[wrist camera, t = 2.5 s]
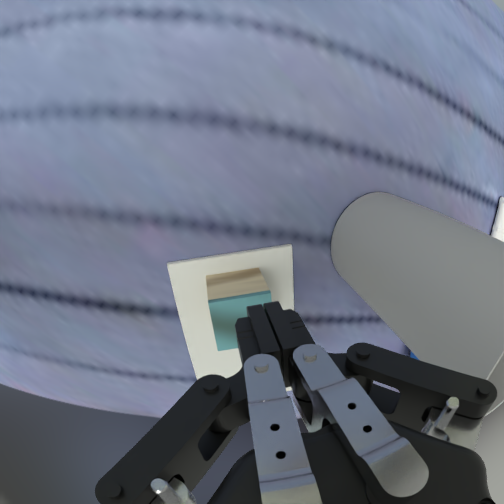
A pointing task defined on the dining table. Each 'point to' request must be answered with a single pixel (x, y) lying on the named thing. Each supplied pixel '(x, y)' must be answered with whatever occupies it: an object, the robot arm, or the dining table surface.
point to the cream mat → (197, 309)
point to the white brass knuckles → (499, 222)
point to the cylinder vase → (427, 282)
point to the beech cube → (233, 301)
